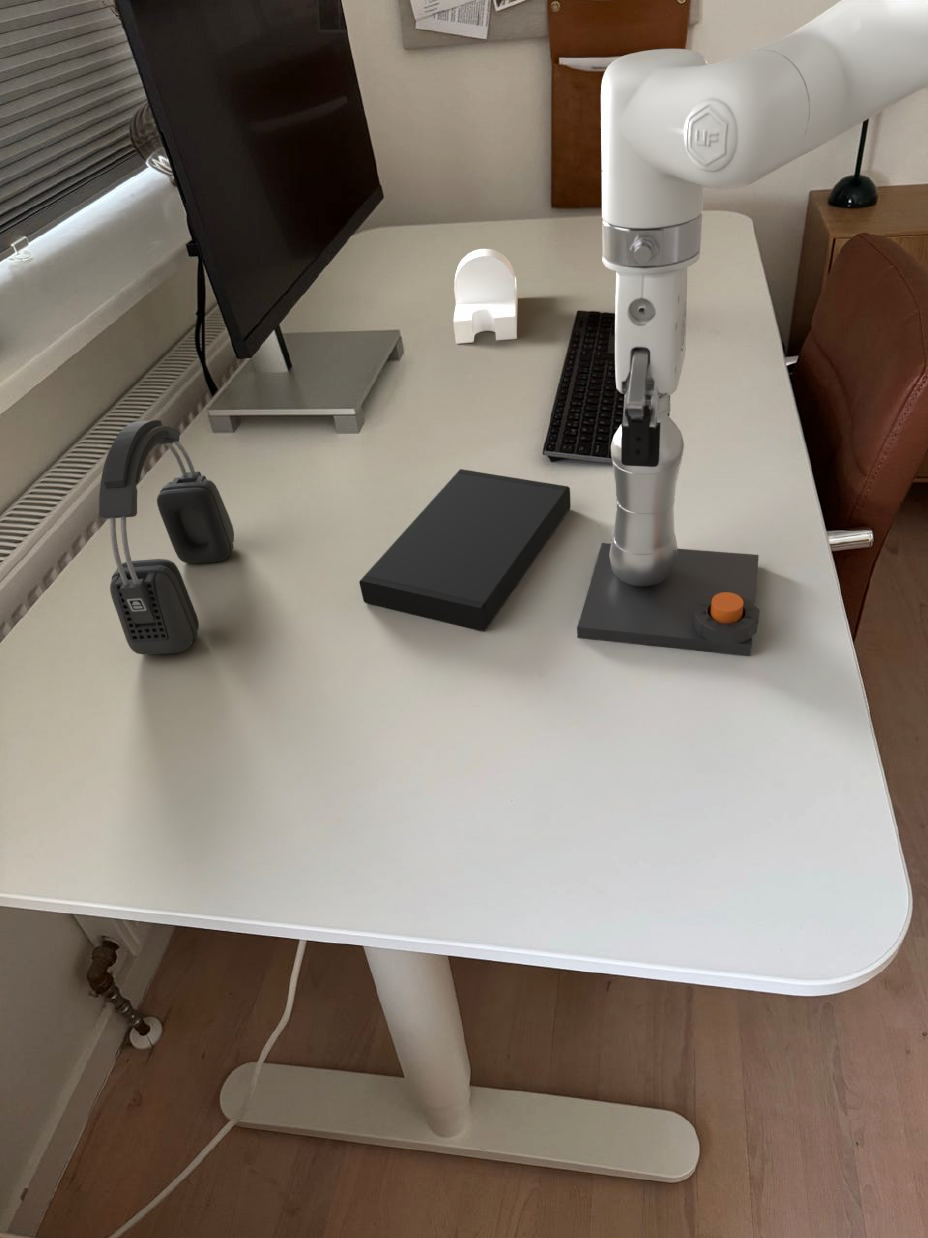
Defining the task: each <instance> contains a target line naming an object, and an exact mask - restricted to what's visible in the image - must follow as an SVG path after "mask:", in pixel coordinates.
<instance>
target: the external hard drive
mask: <svg viewBox="0 0 928 1238" xmlns="http://www.w3.org/2000/svg"><path fill="white" fill-rule="evenodd" d="M570 509H571V488H570V486H567V485H561V484H555V483H550V482H544V481H537V480H531V479H525V478H518V477H512V476H506V475H501V474H500V475H499V474H494V473H488V472H487V473H486V472H481V471H475V470H469V469H462V468H460V469H459V470H457V472H456V473H455V474H454V475H453V476H452V478H451V479H450V480H449V481H447V483H446V484H445V485H444V486H443V488H442V489H441V490H440V491H439V492H438V493H437V494H436V495H435V496H434V497H433V499H432V500H431V501H429V503H428V504H427V505H426V506H425V508H424V509H422V511H421V512H420V513H419V514H418V515H417V517H416V518H415V519H414V520H413V521H412V522H411V523H410V524H409V525H408V527H407V528H406V529H405V530H404V531H403V532H402V533H401V534H400V536H398V538H397V539H395V541H394V542H393V543H392V544H391V545H390V547H388V549H387V550H386V551H385V552H384V553H383V554H382V556H380V558H379V559H378V560H376V562H375V563H374V564H373V566H371V568H370V569H369V570H368V571H367V572H366V573H365V574H364V575H363V577H362V578H361V579H360V580H359V581H358V583H359V587H360V592H361V596H362V601H363V603H365V604H366V605H367V604H368V605H372V606H376V607H379V608H384V609H388V610H393V611H397V612H401V613H405V614H409V615H413V616H417V617H422V618H426V619H430V620H434V621H437V622H442V623H446V624H450V625H453V626H457V627H458V626H459V627H462V628H466V629H471V630H475V631H479V632H483V633H484V632H486V630H487V629H488V627H490V625H491V623H492V621H493V620H494V618H495V617H496V616H497V614H498V613H499V611H500V610H501V608H502V607H503V605H504V604H505V603H506V601H507V600H508V598H509V597H510V596H511V595H512V592H513V591H514V589H516V587H517V585H518V584H519V582H520V581H521V580H522V578H523V577H524V575H525V574H526V572H527V571H528V570H529V568H530V566H531V565H532V564H533V562H534V561H535V559H536V558H537V556H539V554H540V552H541V551H542V549H543V548H544V546H545V545H546V544H547V543H548V541H549V539H550V538H551V536H552V535H553V534H554V532H555V530H557V528H558V526H559V525H560V523H561V522H562V520H563V519H564V518H565V516H566V515H567V514H568V512H569V510H570Z"/></svg>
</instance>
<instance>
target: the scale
mask: <svg viewBox="0 0 928 1238" xmlns="http://www.w3.org/2000/svg"><path fill="white" fill-rule="evenodd" d="M610 547H611V542H609V543H608V542H601V543H600V548H599V551H598V554H597V556H596V557H597V558H596V561H595V565H594V568H593V572H592V574H591V578H590V582H589V584H588V589H587V591H586V595H585V599H584V602H583V605H582V608H581V609H582V610H581V611H580V615H579V619H578V622H577V626H576V634H577V635H576V636H577V638H578V639H587V640H596V641H605V642H613V643H614V642H615V643H625V644H631V645H632V644H634V645H642V646H652V647H661V648H671V649H679V650H680V649H681V650H688V651H689V650H690V651H698V652H707V653H708V652H709V653H719V654H725V655H727V654H728V655H734V656H736V655H737V656H744V657H751V655H752V649H753V648H752V647H753V638H754V636H755V635H756V634H757V633H758V629H759V628H758V627H759V620H760V608H759V607H758V605H756V595H757V583H758V582H757V579H758V570H759V569H758V568H759V554H754V553H753V554H752V553H739V552H726V551H715V550H703V549H702V550H699V549H687V548H677V550H678V556H677V560H676V564H675V567H674V570H673V571H672V573H671V574H670V575H669V576H668V577H667V578H666V579H665V580H663V581H662V582H660V583H658V584H655V585H651V586H634V585H630V584H627V583H625V582H623V581H621V580H620V579H619V578H618V577H617V576H616V575H615V573H614V572H613V570H612V567H611V562H610V557H609V553H610ZM723 592H729V593H734V594H737V595H738V596H740V597H741V598H742V600H743V602H744V604H743V613H742V618H741V619H740V620H739V621H738V622H735V623H731V624H728V623H720V622H718V621H716V620H714V619H713V618H712V616H711V603H712V599H713V597H714V596H715V595H717V594H719V593H723Z"/></svg>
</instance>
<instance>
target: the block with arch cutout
mask: <svg viewBox="0 0 928 1238" xmlns="http://www.w3.org/2000/svg"><path fill="white" fill-rule="evenodd" d="M517 286H518V284H517V277H516V276H515V271H514V267H513V266H512V263H511V262H510V260H509V259H508V258H507V257H506V255H504V254H502V253H501V252H499V251H498V250H494V249H491V248H479V249H475V250H473V251H471V252H469V253H467V254H466V255H465V256H464V257H463V258H462V259H461V261H460V262H459V264H458V266H457V269H456V272H455V277H454V285H453V288H454V289H453V290H454V297H455V309H454V314H453V321H452V322H453V330H454V340H455V344H469V343H471V344H472V343H474V342H475V335H477V334H479V333H481V332H493V333H494V335H495V341H509V340H516V339H518V287H517ZM483 325H484V326H483Z"/></svg>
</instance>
